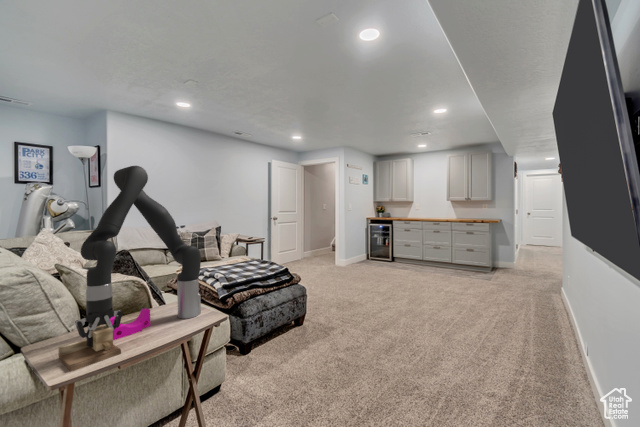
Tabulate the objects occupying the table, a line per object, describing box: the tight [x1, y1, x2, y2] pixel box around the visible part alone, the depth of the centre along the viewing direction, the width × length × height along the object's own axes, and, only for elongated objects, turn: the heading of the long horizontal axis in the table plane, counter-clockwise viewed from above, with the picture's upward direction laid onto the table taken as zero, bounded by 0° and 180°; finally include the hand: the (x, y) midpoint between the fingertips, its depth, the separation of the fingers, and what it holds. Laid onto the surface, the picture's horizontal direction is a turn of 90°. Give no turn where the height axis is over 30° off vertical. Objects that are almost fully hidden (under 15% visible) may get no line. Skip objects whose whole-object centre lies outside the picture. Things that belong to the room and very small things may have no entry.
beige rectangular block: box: [92, 325, 114, 351], centre depth 105 cm, size 5×11×6 cm, turn 54°
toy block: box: [110, 307, 151, 341], centre depth 123 cm, size 15×6×8 cm, turn 145°
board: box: [58, 339, 122, 372], centre depth 103 cm, size 14×13×4 cm
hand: (100, 343), depth 105 cm, fingers closed on beige rectangular block, 5 cm apart
